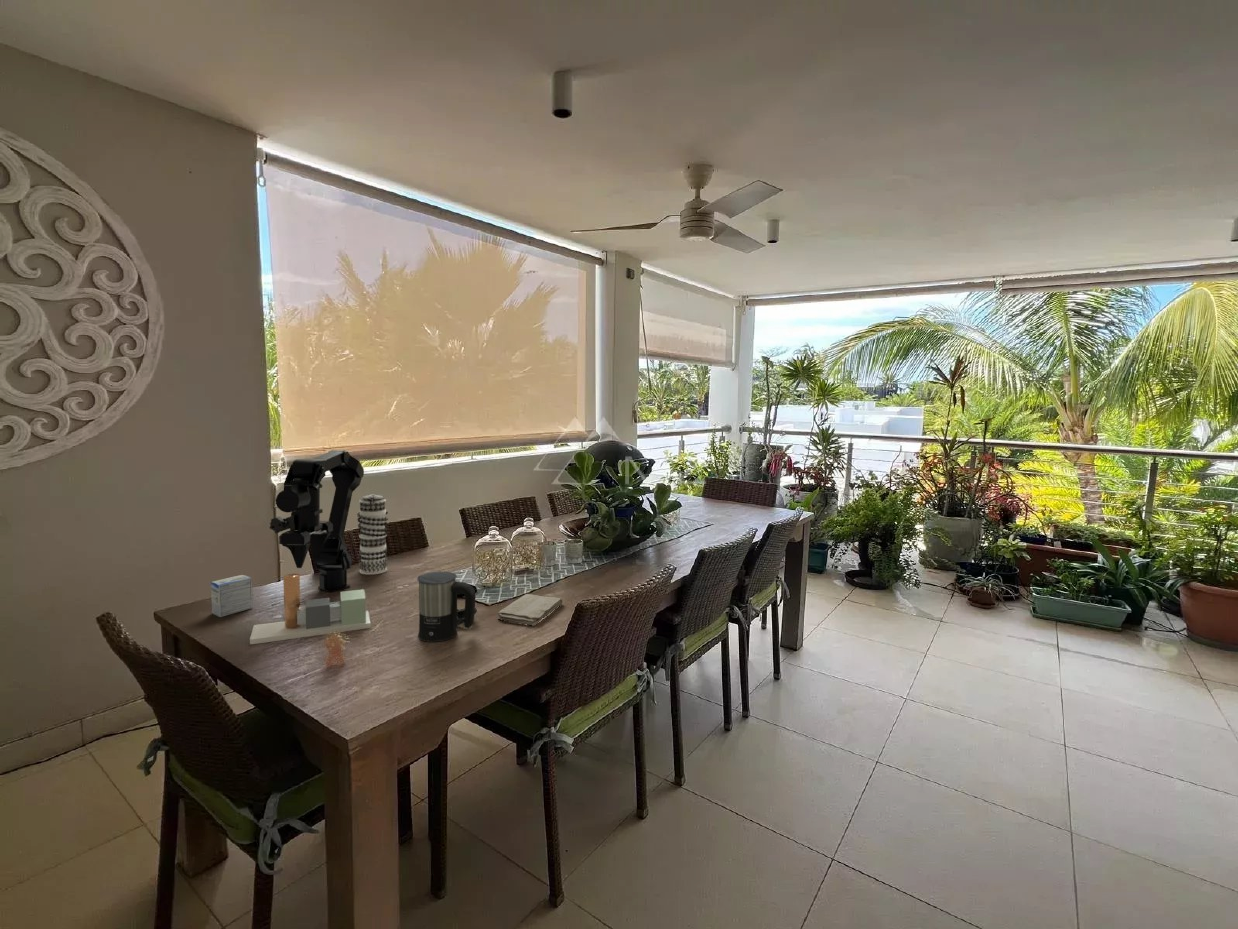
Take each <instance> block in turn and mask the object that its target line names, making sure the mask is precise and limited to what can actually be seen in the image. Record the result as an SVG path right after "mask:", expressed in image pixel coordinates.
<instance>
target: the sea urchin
mask: <svg viewBox="0 0 1238 929" xmlns="http://www.w3.org/2000/svg"><path fill="white" fill-rule="evenodd" d="M351 631H352V630H351ZM351 631H349V632H350V633H351ZM336 632H337V631H336ZM336 632H335V633H334V632H332V633H330V634H327V633H326V634H325V635H326V638H325V641H324V639H322V640H319V645H320V644H321V645H323V648H324V649H325V650H324V655H323V656H322V657H321V660H322V661H323V666H324V667H326V668H329V667H330V668H333V666H335V668H339V667H340V668H341V666H343V664H349V660H347V657H348V655H346V653H345V647H346V644H347V643H349V641H347V640H355V638H354V639H353V638H349V637H351V635H347V634H348V633H345V635H344V633H343V632H337V633H336ZM346 635H347V636H346ZM346 637H347V638H346ZM316 638H317V639H318V638H320V637H316ZM315 643H317V641H314V644H315ZM354 644H357V643H354ZM353 647H356V646H354V645H353ZM317 651H318V652H319V649H318V650H316V652H317ZM347 654H350V653H349V652H348V651H347ZM318 659H320V657H318V658H317V660H318ZM347 662H348V663H347ZM340 668H339V669H340Z"/></svg>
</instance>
